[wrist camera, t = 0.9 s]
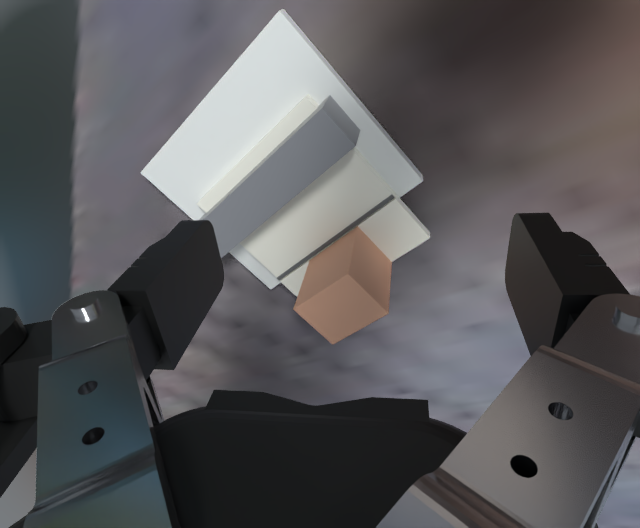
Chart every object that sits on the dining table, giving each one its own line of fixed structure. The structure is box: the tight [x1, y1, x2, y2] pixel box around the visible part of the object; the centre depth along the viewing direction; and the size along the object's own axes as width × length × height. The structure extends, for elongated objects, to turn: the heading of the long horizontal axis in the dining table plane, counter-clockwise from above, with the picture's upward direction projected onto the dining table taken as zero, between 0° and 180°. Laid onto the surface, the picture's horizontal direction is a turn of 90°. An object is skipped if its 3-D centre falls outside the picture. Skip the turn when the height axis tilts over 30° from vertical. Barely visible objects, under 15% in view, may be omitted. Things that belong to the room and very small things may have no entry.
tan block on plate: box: [280, 194, 430, 345], centre depth 32 cm, size 12×4×7 cm, turn 134°
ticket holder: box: [141, 9, 423, 289], centre depth 31 cm, size 16×14×4 cm
